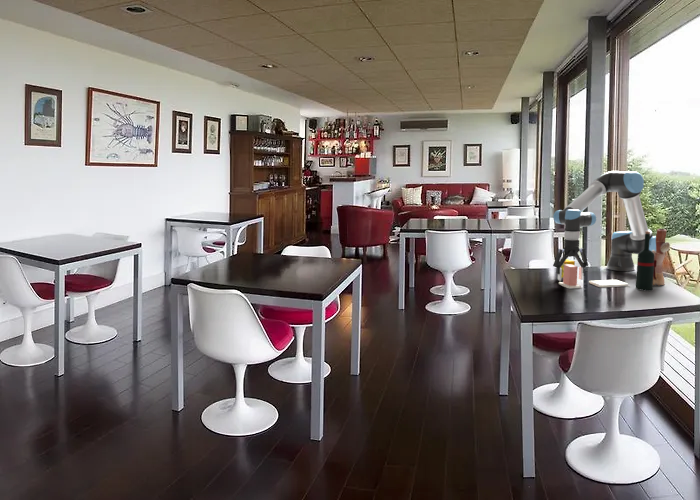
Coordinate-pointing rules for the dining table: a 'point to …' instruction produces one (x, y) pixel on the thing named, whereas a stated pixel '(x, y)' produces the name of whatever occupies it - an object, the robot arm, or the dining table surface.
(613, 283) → the white flat slab
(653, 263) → the wine bottle
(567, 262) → the supplement box
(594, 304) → the dining table surface
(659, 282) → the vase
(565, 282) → the pink rectangular block
